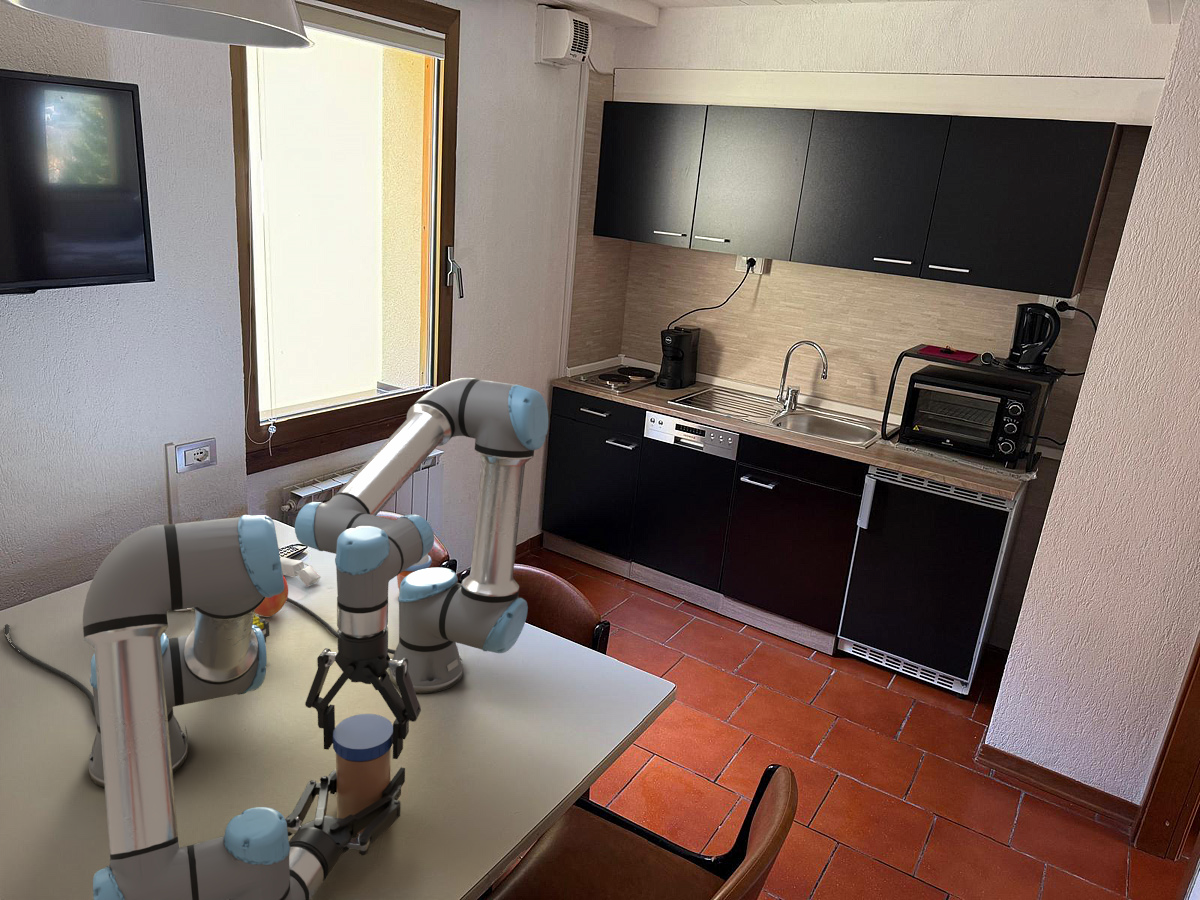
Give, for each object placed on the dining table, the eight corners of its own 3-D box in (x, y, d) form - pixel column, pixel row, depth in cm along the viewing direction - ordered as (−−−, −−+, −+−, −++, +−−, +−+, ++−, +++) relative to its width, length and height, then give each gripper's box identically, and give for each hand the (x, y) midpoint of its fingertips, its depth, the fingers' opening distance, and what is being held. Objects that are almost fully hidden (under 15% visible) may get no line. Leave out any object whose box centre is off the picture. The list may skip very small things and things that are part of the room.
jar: (325, 819, 140) (323, 736, 135) (366, 791, 147) (366, 711, 142) (361, 843, 135) (360, 758, 131) (401, 813, 142) (402, 732, 138)
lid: (350, 769, 130) (349, 757, 130) (322, 738, 137) (322, 727, 136) (404, 746, 137) (404, 734, 136) (375, 718, 143) (375, 706, 142)
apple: (273, 600, 207) (272, 562, 204) (297, 613, 202) (296, 575, 199) (237, 614, 200) (234, 575, 197) (261, 628, 194) (259, 588, 191)
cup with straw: (422, 608, 209) (423, 541, 204) (387, 602, 210) (387, 535, 205) (436, 592, 217) (437, 527, 212) (403, 587, 219) (403, 522, 214)
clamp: (253, 565, 223) (254, 542, 221) (265, 560, 226) (266, 537, 224) (309, 593, 215) (310, 569, 213) (320, 588, 218) (321, 564, 216)
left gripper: (237, 869, 126) (320, 773, 147) (370, 905, 121) (436, 801, 143) (235, 827, 124) (319, 736, 145) (370, 862, 119) (436, 763, 140)
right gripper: (443, 624, 133) (440, 744, 140) (300, 606, 135) (304, 725, 142) (429, 648, 126) (426, 773, 133) (278, 629, 128) (283, 753, 135)
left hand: (377, 768), depth 144 cm, fingers closed on jar, 9 cm apart
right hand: (363, 749), depth 137 cm, fingers open, 11 cm apart
